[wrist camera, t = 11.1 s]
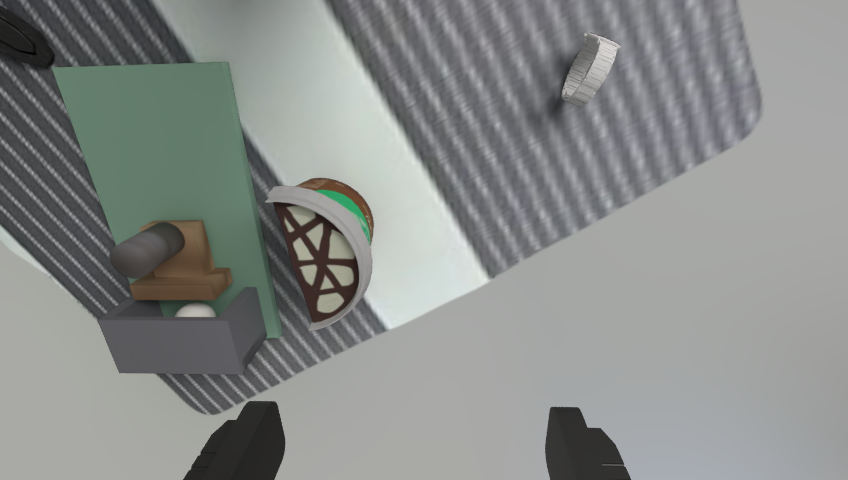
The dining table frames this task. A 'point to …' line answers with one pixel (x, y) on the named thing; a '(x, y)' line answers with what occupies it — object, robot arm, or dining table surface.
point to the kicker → (170, 262)
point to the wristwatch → (603, 56)
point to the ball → (196, 310)
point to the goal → (184, 337)
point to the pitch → (173, 163)
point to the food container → (326, 244)
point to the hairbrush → (23, 40)
